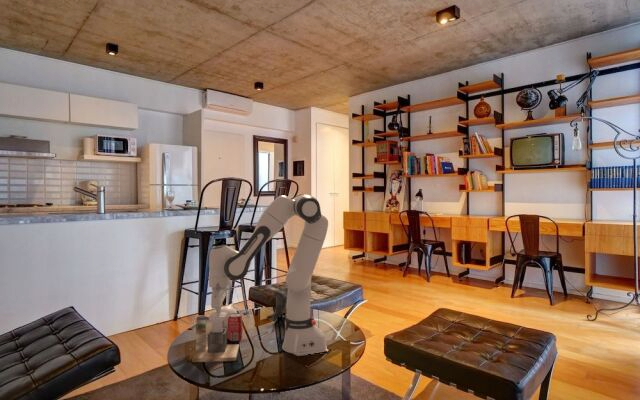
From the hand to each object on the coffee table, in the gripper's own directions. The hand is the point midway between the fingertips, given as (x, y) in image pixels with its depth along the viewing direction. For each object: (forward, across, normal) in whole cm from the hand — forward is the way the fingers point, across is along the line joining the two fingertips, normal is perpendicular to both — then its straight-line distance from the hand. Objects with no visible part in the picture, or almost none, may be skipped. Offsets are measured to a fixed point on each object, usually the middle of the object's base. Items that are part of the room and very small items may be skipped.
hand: (218, 312), depth 163 cm
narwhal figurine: (+18, +46, -28) cm, 57 cm away
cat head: (+18, +29, 0) cm, 34 cm away
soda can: (+18, +15, -6) cm, 24 cm away
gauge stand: (+18, -2, 0) cm, 18 cm away
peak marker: (+6, -3, +8) cm, 10 cm away
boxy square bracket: (+10, 0, +3) cm, 11 cm away
